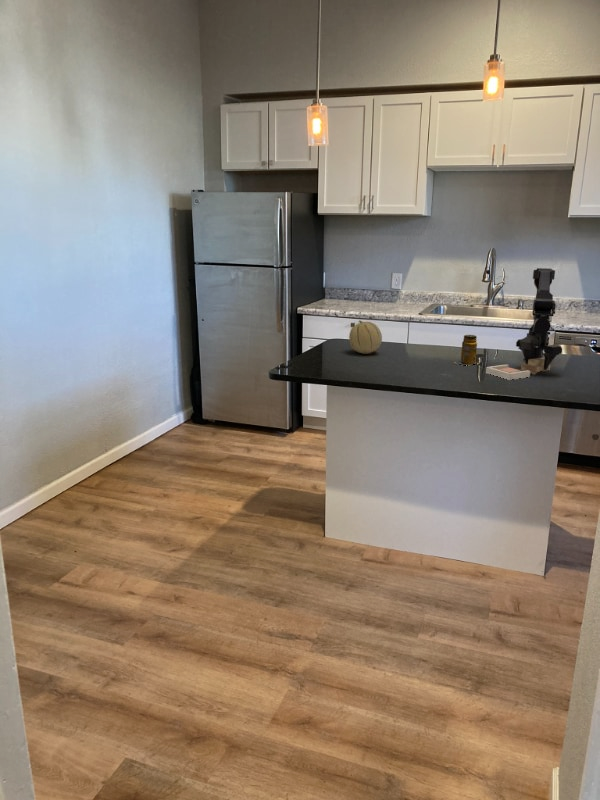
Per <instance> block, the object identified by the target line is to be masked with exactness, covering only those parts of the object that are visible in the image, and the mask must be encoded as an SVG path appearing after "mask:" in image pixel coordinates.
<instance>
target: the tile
mask: <svg viewBox="0 0 600 800" xmlns="http://www.w3.org/2000/svg"><path fill="white" fill-rule="evenodd" d="M498 370H501V371H505V372H508V373H513V372H520V371H521V369H516V368H513V367H509V368H502V369H498Z"/></svg>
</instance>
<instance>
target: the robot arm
mask: <svg viewBox="0 0 600 800" xmlns="http://www.w3.org/2000/svg"><path fill="white" fill-rule="evenodd" d="M555 276H556V269H555V270H554V269H552V268H546V267H545V268H541V267H540V268H539V267H537V268H536V269H533V272H532V280H533V285H534V287H535V289H536V294H535V299H533V303H532V316H533V324H532V325H531V326H530V328H529V330H528V332H526V336H525V337H523V338H521V339H517V341H516V343H515V347H517V348H518V350H520V351H521V352H522V354H523V361H524V364H528V360H529V359H537V358H544V357H545V359H544V370H547V368H548V367H549V365H550V366H551V364H552V362H553V361H554V359H555V358H556V357H557V356H559V355H560V354H563V347H562V346H561V345H556V344H550V342H549V341H550V337H549V335H551V332H550V329H551V327H552V326H551V325H552V324H551V322H550V321H551V320H550V318H551V317H554V315H555V314H556V308H557V306H556V301H555V300H554V298H553V296H554V294H552V293H551V291H550V290H551V289H550V287H551V285H552V283H553V281H554V280H555ZM543 356H544V357H543ZM550 363H551V364H550Z"/></svg>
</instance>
